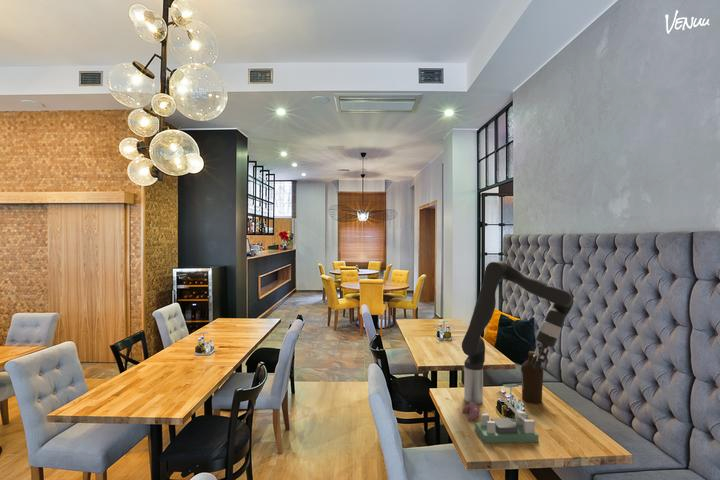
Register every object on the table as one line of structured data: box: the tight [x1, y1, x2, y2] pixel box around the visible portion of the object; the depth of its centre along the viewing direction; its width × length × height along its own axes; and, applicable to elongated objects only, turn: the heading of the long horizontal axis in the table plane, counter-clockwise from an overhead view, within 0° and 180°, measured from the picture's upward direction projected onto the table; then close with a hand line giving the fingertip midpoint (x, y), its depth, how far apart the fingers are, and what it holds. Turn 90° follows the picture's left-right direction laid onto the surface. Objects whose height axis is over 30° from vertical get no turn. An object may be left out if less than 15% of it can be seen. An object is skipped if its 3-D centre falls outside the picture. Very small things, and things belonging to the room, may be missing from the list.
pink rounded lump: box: [461, 402, 481, 422], centre depth 174 cm, size 10×5×7 cm, turn 1°
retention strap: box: [496, 390, 527, 422], centre depth 157 cm, size 5×17×2 cm
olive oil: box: [520, 350, 544, 404], centre depth 192 cm, size 11×11×25 cm
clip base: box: [474, 411, 539, 444], centre depth 157 cm, size 11×22×8 cm, turn 92°
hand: (534, 368), depth 160 cm, fingers open, 8 cm apart
